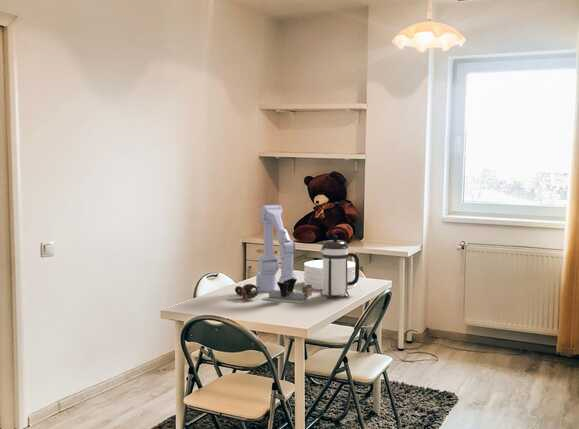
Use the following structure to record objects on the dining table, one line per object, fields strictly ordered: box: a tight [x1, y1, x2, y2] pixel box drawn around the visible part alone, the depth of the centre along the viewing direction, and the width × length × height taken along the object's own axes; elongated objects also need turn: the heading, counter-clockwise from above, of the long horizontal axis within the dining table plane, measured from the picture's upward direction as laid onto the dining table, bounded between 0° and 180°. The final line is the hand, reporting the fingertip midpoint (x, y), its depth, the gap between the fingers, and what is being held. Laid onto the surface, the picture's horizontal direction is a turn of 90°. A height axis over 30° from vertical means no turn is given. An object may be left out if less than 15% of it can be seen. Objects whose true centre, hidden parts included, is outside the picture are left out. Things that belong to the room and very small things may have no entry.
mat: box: [262, 294, 309, 304], centre depth 299 cm, size 20×8×1 cm, turn 67°
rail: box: [268, 289, 307, 302], centre depth 298 cm, size 18×3×3 cm
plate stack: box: [303, 259, 358, 291], centre depth 335 cm, size 28×28×12 cm
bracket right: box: [301, 285, 313, 298], centre depth 307 cm, size 3×6×5 cm, turn 157°
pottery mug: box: [234, 283, 260, 302], centre depth 300 cm, size 12×10×8 cm
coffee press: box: [319, 234, 360, 300], centre depth 307 cm, size 17×16×30 cm
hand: (287, 295), depth 298 cm, fingers open, 7 cm apart
